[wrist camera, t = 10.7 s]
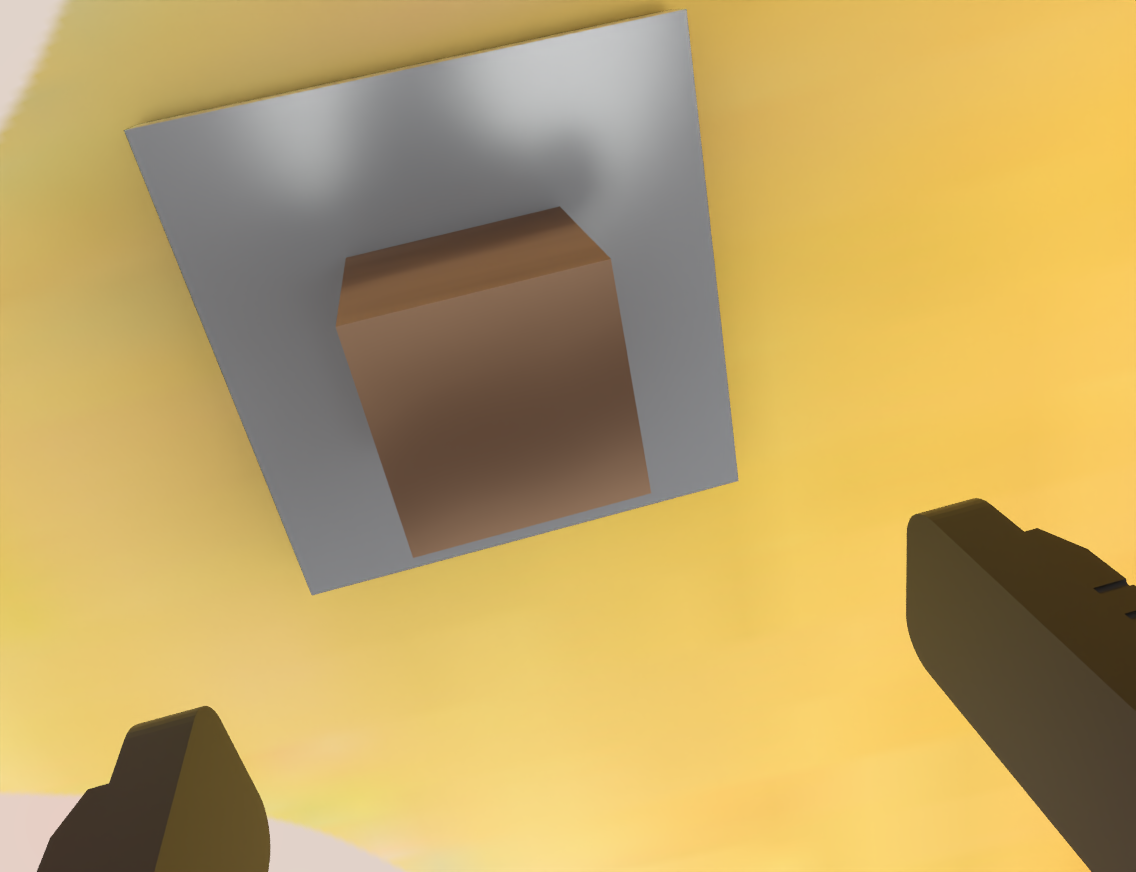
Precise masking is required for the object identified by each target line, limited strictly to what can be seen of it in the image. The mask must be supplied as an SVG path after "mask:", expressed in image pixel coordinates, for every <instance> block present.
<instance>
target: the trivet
mask: <svg viewBox="0 0 1136 872" xmlns="http://www.w3.org/2000/svg"><path fill="white" fill-rule="evenodd" d="M124 132H125V134H126V136H127V139H128V141H129V144H130V146H131V149H132V151H133V154H134V156H135V159H136V161H137V164H138V166H139V169H140V171H141V174H142V176H143V179H144V181H145V184H146V186H147V188H148V191H149V193H150V196H151V198H152V201H153V203H154V206H155V208H156V211H157V213H158V216H159V218H160V221H161V223H162V226H163V228H164V231H165V233H166V235H167V238H168V240H169V243H170V245H171V248H172V250H173V253H174V255H175V258H176V260H177V263H178V265H179V268H180V270H181V273H182V275H183V278H184V280H185V283H186V285H187V287H188V290H189V292H190V295H191V297H192V300H193V302H194V305H195V307H196V310H197V312H198V315H199V317H200V320H201V322H202V325H203V327H204V330H205V332H206V335H207V337H208V339H209V342H210V344H211V347H212V349H213V352H214V354H215V357H216V359H217V362H218V364H219V367H220V369H221V372H222V374H223V377H224V379H225V382H226V384H227V387H228V389H229V391H230V394H231V396H232V399H233V401H234V404H235V406H236V409H237V411H238V414H239V416H240V419H241V421H242V424H243V426H244V429H245V431H246V434H247V436H248V438H249V441H250V443H251V446H252V448H253V451H254V453H255V456H256V458H257V461H258V463H259V466H260V468H261V471H262V473H263V476H264V478H265V481H266V483H267V486H268V488H269V490H270V493H271V495H272V498H273V500H274V503H275V505H276V508H277V510H278V513H279V515H280V518H281V520H282V523H283V525H284V528H285V530H286V533H287V535H288V538H289V540H290V542H291V545H292V547H293V550H294V552H295V555H296V557H297V560H298V562H299V565H300V567H301V570H302V572H303V575H304V577H305V580H306V582H307V585H308V587H309V589H310V592H311V594H312V595H315V594H319V593H322V592H326V591H330V590H334V589H337V588H341V587H345V586H348V585H352V584H356V583H360V582H363V581H367V580H371V579H374V578H378V577H382V576H386V575H389V574H393V573H397V572H401V571H404V570H408V569H412V568H415V567H419V566H423V565H427V564H430V563H434V562H438V561H442V560H445V559H449V558H453V557H456V556H460V555H464V554H468V553H471V552H475V551H479V550H483V549H486V548H490V547H494V546H497V545H501V544H505V543H509V542H512V541H516V540H520V539H523V538H527V537H531V536H535V535H538V534H542V533H546V532H550V531H553V530H557V529H561V528H564V527H568V526H572V525H576V524H579V523H583V522H587V521H591V520H594V519H598V518H602V517H605V516H609V515H613V514H617V513H620V512H624V511H628V510H632V509H635V508H639V507H643V506H646V505H650V504H654V503H658V502H661V501H665V500H669V499H672V498H676V497H680V496H684V495H687V494H691V493H695V492H699V491H702V490H706V489H710V488H713V487H717V486H721V485H725V484H728V483H732V482H736V481H738V473H737V464H736V455H735V446H734V437H733V427H732V418H731V409H730V400H729V391H728V382H727V373H726V364H725V355H724V346H723V337H722V328H721V319H720V309H719V300H718V291H717V282H716V273H715V264H714V255H713V246H712V237H711V228H710V219H709V210H708V201H707V192H706V182H705V173H704V164H703V155H702V146H701V137H700V128H699V119H698V110H697V101H696V92H695V83H694V74H693V64H692V55H691V46H690V37H689V28H688V19H687V10H686V9H674V10H666V11H662V12H657V13H652V14H648V15H643V16H638V17H634V18H629V19H624V20H620V21H615V22H610V23H606V24H601V25H597V26H592V27H587V28H583V29H578V30H573V31H569V32H564V33H559V34H555V35H550V36H545V37H541V38H536V39H532V40H527V41H522V42H518V43H513V44H508V45H504V46H499V47H494V48H490V49H485V50H480V51H476V52H471V53H466V54H462V55H457V56H453V57H448V58H443V59H439V60H434V61H429V62H425V63H420V64H415V65H411V66H406V67H401V68H397V69H392V70H388V71H383V72H378V73H374V74H369V75H364V76H360V77H355V78H350V79H346V80H341V81H336V82H332V83H327V84H323V85H318V86H313V87H309V88H304V89H299V90H295V91H290V92H285V93H281V94H276V95H271V96H267V97H262V98H258V99H253V100H248V101H244V102H239V103H234V104H230V105H225V106H220V107H216V108H211V109H206V110H202V111H197V112H193V113H188V114H183V115H179V116H174V117H169V118H165V119H160V120H155V121H151V122H146V123H141V124H138V125H135V126H133V127H130V128H128V129H126V130H124ZM559 206H560V207H561V208H562V209H563V210H564V211H565V212H566V213H567V214H568V215H569V216H570V217H571V218H572V219H573V220H574V221H575V223H576V224H577V225H578V226H579V227H580V228H581V229H582V230H583V231H584V232H585V233H586V234H587V235H588V236H589V237H590V238H591V239H592V240H593V241H594V242H595V243H596V244H597V245H598V246H599V247H600V248H601V249H602V250H603V251H604V252H605V253H606V254H607V255H608V256H609V257H610V258H611V262H612V268H613V274H614V279H615V285H616V291H617V297H618V303H619V308H620V314H621V320H622V326H623V332H624V338H625V343H626V349H627V355H628V361H629V367H630V372H631V378H632V384H633V390H634V396H635V401H636V407H637V413H638V419H639V425H640V430H641V436H642V442H643V448H644V454H645V460H646V465H647V471H648V477H649V483H650V489H651V493H650V494H647V495H643V496H639V497H636V498H632V499H628V500H625V501H621V502H617V503H614V504H610V505H606V506H603V507H599V508H595V509H592V510H588V511H584V512H581V513H577V514H573V515H570V516H566V517H562V518H558V519H555V520H551V521H547V522H544V523H540V524H536V525H533V526H529V527H525V528H522V529H518V530H514V531H511V532H507V533H503V534H500V535H496V536H492V537H489V538H485V539H481V540H478V541H474V542H470V543H467V544H463V545H459V546H456V547H452V548H448V549H445V550H441V551H437V552H434V553H430V554H426V555H423V556H419V557H415V558H413V556H412V553H411V550H410V547H409V544H408V541H407V538H406V535H405V532H404V529H403V526H402V523H401V520H400V517H399V514H398V511H397V509H396V506H395V503H394V500H393V497H392V494H391V491H390V488H389V485H388V482H387V479H386V476H385V473H384V470H383V467H382V464H381V461H380V458H379V455H378V452H377V449H376V446H375V443H374V440H373V437H372V434H371V431H370V428H369V425H368V422H367V419H366V416H365V413H364V410H363V407H362V404H361V401H360V398H359V395H358V392H357V389H356V386H355V383H354V380H353V377H352V374H351V371H350V368H349V365H348V362H347V359H346V356H345V353H344V350H343V347H342V344H341V342H340V339H339V336H338V333H337V330H336V320H337V314H338V307H339V300H340V294H341V287H342V280H343V273H344V267H345V260H346V258H347V257H351V256H355V255H359V254H364V253H368V252H372V251H376V250H380V249H384V248H389V247H393V246H397V245H401V244H405V243H409V242H414V241H418V240H422V239H426V238H430V237H434V236H439V235H443V234H447V233H451V232H455V231H459V230H464V229H468V228H472V227H476V226H480V225H484V224H489V223H493V222H497V221H501V220H505V219H509V218H514V217H518V216H522V215H526V214H530V213H534V212H539V211H543V210H547V209H551V208H555V207H559Z"/></svg>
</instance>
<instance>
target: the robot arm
mask: <svg viewBox="0 0 1136 872" xmlns="http://www.w3.org/2000/svg"><path fill="white" fill-rule="evenodd" d="M906 619H907V627H908V631H909V635H910V638H911V641H912V644H913V647H914V649H915V651H916V653H917V655H918V657H919V659H920V661H921V663H922V664H923V666H924V667H925V669H926V670H927V672H928V673H929V674H930V675H931V677H932V678H933V679H934V680H935V681H936V683H937V684H938V685H939V686H940V688H941V689H942V690H943V691H944V692H945V694H946V695H947V696H948V697H949V698H950V700H951V701H952V702H953V703H954V705H955V706H956V707H957V708H958V709H959V711H960V712H961V713H962V714H963V716H964V717H965V718H966V719H967V720H968V722H969V723H970V724H971V725H972V727H973V728H974V729H975V730H976V731H977V733H978V734H979V735H980V736H981V737H982V739H983V740H984V741H985V742H986V744H987V745H988V746H989V747H990V748H991V750H992V751H993V752H994V753H995V755H996V756H997V757H998V758H999V759H1000V761H1001V762H1002V763H1003V764H1004V766H1005V767H1006V768H1007V769H1008V770H1009V772H1010V773H1011V774H1012V775H1013V777H1014V778H1015V779H1016V780H1017V781H1018V783H1019V784H1020V785H1021V786H1022V787H1023V789H1024V790H1025V791H1026V792H1027V794H1028V795H1029V796H1030V797H1031V798H1032V800H1033V801H1034V802H1035V803H1036V805H1037V806H1038V807H1039V808H1040V809H1041V811H1042V812H1043V813H1044V814H1045V816H1046V817H1047V818H1048V819H1049V820H1050V822H1051V823H1052V824H1053V825H1054V827H1055V828H1056V829H1057V830H1058V831H1059V833H1060V834H1061V835H1062V836H1063V837H1064V839H1065V840H1066V841H1067V842H1068V844H1069V845H1070V846H1071V847H1072V848H1073V850H1074V851H1075V852H1076V853H1077V855H1078V856H1079V857H1080V858H1081V859H1082V861H1083V862H1084V863H1085V864H1086V866H1087V867H1088V868H1089V869H1090V870H1091V872H1136V586H1135V585H1131V586H1129V585H1128V584H1127V582H1126V578H1124V577H1123V576H1122V575H1120V574H1119V573H1118V572H1116V571H1115V570H1114V569H1113V568H1111V567H1110V566H1109V565H1107V564H1106V563H1105V562H1103V561H1102V560H1101V559H1100V558H1098V557H1097V556H1096V555H1094V554H1093V553H1092V552H1090V551H1089V550H1088V549H1086V548H1084V547H1081V546H1079V545H1076V544H1074V543H1072V542H1069V541H1067V540H1064V539H1062V538H1060V537H1057V536H1055V535H1052V534H1050V533H1048V532H1045V531H1043V530H1040V529H1038V528H1036V529H1033V530H1029V531H1026V532H1024V531H1023V530H1021V529H1020V528H1019V527H1018V526H1016V525H1015V524H1014V523H1013V522H1012V521H1010V520H1009V519H1008V518H1007V517H1005V516H1004V515H1003V514H1002V513H1001V512H999V511H998V510H997V509H996V508H994V507H993V506H992V505H991V504H989V503H988V502H986V501H984V500H982V499H978V498H975V499H970V500H966V501H963V502H959V503H955V504H952V505H948V506H944V507H941V508H937V509H933V510H930V511H926V512H922V513H919V514H915V515H914V516H912V517H911V519H910V520H909V523H908V527H907V583H906ZM269 861H270V834H269V826H268V820H267V816H266V812H265V808H264V805H263V802H262V800H261V798H260V795H259V793H258V791H257V790H256V788H255V786H254V784H253V782H252V780H251V778H250V776H249V774H248V772H247V770H246V768H245V766H244V764H243V762H242V761H241V759H240V757H239V755H238V753H237V751H236V749H235V747H234V745H233V743H232V741H231V739H230V737H229V735H228V733H227V731H226V730H225V728H224V726H223V724H222V722H221V720H220V718H219V716H218V715H217V713H216V712H215V711H214V710H213V709H212V708H210V707H208V706H203V707H199V708H195V709H192V710H188V711H184V712H181V713H177V714H173V715H170V716H166V717H162V718H159V719H155V720H151V721H148V722H144V723H140V724H137V725H135V726H133V727H132V728H131V729H130V730H129V732H128V733H127V735H126V737H125V740H124V742H123V745H122V748H121V751H120V754H119V757H118V760H117V763H116V765H115V768H114V771H113V774H112V777H111V780H110V783H109V784H106V785H102V786H98V787H95V788H91V789H88V790H87V791H86V792H85V794H84V795H83V796H82V798H81V799H80V800H79V801H78V803H77V804H76V806H75V807H74V808H73V809H72V811H71V812H70V813H69V815H68V816H67V817H66V818H65V820H64V821H63V822H62V824H61V825H60V826H59V827H58V829H57V830H56V831H55V833H54V834H53V835H52V836H51V838H50V840H49V842H48V845H47V848H46V850H45V853H44V855H43V858H42V860H41V863H40V865H39V868H38V870H37V872H268V869H269Z"/></svg>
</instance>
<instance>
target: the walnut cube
mask: <svg viewBox="0 0 1136 872" xmlns="http://www.w3.org/2000/svg"><path fill="white" fill-rule="evenodd" d="M336 330H337V333H338V336H339V339H340V342H341V344H342V347H343V350H344V353H345V356H346V359H347V362H348V365H349V368H350V371H351V374H352V377H353V380H354V383H355V386H356V389H357V392H358V395H359V398H360V401H361V404H362V407H363V410H364V413H365V416H366V419H367V422H368V425H369V428H370V431H371V434H372V437H373V440H374V443H375V446H376V449H377V452H378V455H379V458H380V461H381V464H382V467H383V470H384V473H385V476H386V479H387V482H388V485H389V488H390V491H391V494H392V497H393V500H394V503H395V506H396V509H397V511H398V514H399V517H400V520H401V523H402V526H403V529H404V532H405V535H406V538H407V541H408V544H409V547H410V550H411V553H412V556H413V558H415V557H419V556H423V555H426V554H430V553H434V552H437V551H441V550H445V549H448V548H452V547H456V546H459V545H463V544H467V543H470V542H474V541H478V540H481V539H485V538H489V537H492V536H496V535H500V534H503V533H507V532H511V531H514V530H518V529H522V528H525V527H529V526H533V525H536V524H540V523H544V522H547V521H551V520H555V519H558V518H562V517H566V516H570V515H573V514H577V513H581V512H584V511H588V510H592V509H595V508H599V507H603V506H606V505H610V504H614V503H617V502H621V501H625V500H628V499H632V498H636V497H639V496H643V495H647V494H650V493H651V489H650V483H649V477H648V471H647V465H646V460H645V454H644V448H643V442H642V436H641V430H640V425H639V419H638V413H637V407H636V401H635V396H634V390H633V384H632V378H631V372H630V367H629V361H628V355H627V349H626V343H625V338H624V332H623V326H622V320H621V314H620V308H619V303H618V297H617V291H616V285H615V279H614V274H613V268H612V262H611V258H610V257H609V256H608V255H607V254H606V253H605V252H604V251H603V250H602V249H601V248H600V247H599V246H598V245H597V244H596V243H595V242H594V241H593V240H592V239H591V238H590V237H589V236H588V235H587V234H586V233H585V232H584V231H583V230H582V229H581V228H580V227H579V226H578V225H577V224H576V223H575V221H574V220H573V219H572V218H571V217H570V216H569V215H568V214H567V213H566V212H565V211H564V210H563V209H562V208H561V207H560V206H559V207H555V208H551V209H547V210H543V211H539V212H534V213H530V214H526V215H522V216H518V217H514V218H509V219H505V220H501V221H497V222H493V223H489V224H484V225H480V226H476V227H472V228H468V229H464V230H459V231H455V232H451V233H447V234H443V235H439V236H434V237H430V238H426V239H422V240H418V241H414V242H409V243H405V244H401V245H397V246H393V247H389V248H384V249H380V250H376V251H372V252H368V253H364V254H359V255H355V256H351V257H347V258H346V260H345V267H344V273H343V280H342V287H341V294H340V300H339V307H338V314H337V320H336Z"/></svg>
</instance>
